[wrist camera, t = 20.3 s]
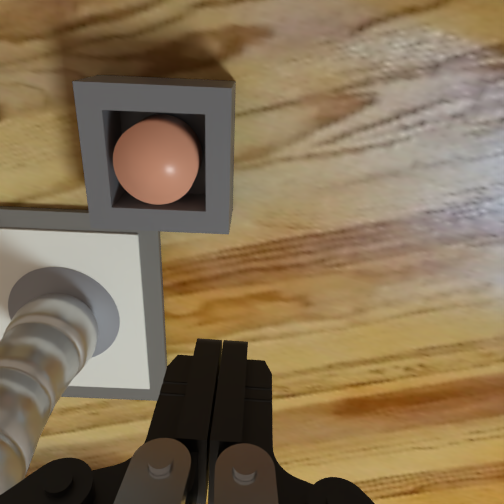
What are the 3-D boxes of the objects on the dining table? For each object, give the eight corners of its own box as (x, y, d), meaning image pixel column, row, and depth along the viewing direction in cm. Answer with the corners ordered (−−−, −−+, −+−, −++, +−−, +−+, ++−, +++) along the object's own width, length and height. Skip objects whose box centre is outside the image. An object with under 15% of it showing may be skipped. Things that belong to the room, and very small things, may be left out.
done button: (123, 112, 28) (108, 120, 26) (201, 115, 29) (195, 124, 26) (129, 188, 31) (116, 202, 28) (202, 191, 31) (196, 206, 28)
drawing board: (-56, 203, 33) (-64, 208, 33) (158, 213, 34) (156, 217, 33) (-6, 388, 41) (-11, 396, 40) (168, 396, 41) (166, 403, 41)
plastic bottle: (19, 335, 37) (-203, 612, 19) (35, 270, 35) (-206, 522, 17) (94, 360, 38) (-50, 645, 20) (115, 298, 36) (-30, 565, 18)
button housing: (98, 74, 29) (72, 81, 25) (235, 81, 29) (231, 88, 25) (111, 204, 33) (90, 228, 29) (232, 210, 33) (228, 234, 29)
